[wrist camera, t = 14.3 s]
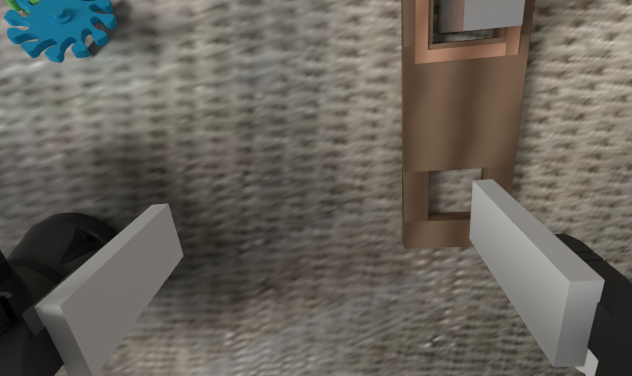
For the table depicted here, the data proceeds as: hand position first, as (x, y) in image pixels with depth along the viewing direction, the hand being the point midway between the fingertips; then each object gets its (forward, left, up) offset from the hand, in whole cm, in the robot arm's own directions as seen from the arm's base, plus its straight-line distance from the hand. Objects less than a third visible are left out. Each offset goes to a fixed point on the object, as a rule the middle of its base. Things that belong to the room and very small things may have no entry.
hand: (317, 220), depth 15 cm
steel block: (+13, +9, -28) cm, 32 cm away
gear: (-27, +12, -28) cm, 41 cm away
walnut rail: (+13, -1, -28) cm, 31 cm away
